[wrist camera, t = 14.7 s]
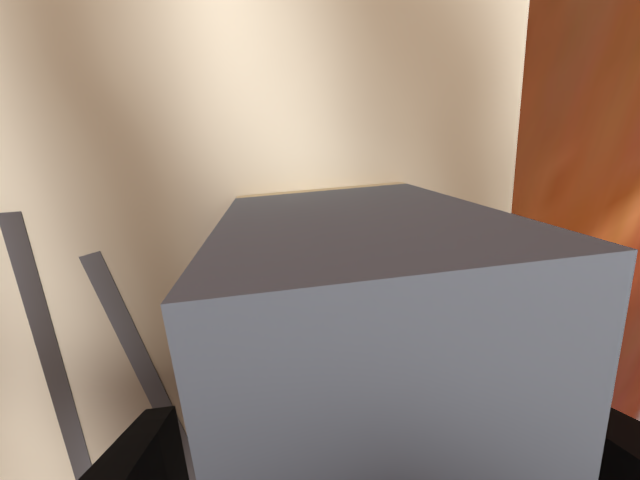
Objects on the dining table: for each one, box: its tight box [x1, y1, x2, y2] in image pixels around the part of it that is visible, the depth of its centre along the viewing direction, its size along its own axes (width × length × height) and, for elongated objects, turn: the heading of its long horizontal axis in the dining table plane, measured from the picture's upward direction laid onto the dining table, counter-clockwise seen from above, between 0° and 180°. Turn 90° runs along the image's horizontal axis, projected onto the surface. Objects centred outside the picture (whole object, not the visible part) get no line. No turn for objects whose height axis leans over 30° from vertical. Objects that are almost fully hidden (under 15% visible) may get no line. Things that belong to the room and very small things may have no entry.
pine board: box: [0, 0, 529, 480], centre depth 10 cm, size 20×20×1 cm
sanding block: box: [160, 182, 638, 480], centre depth 7 cm, size 4×9×6 cm, turn 4°
